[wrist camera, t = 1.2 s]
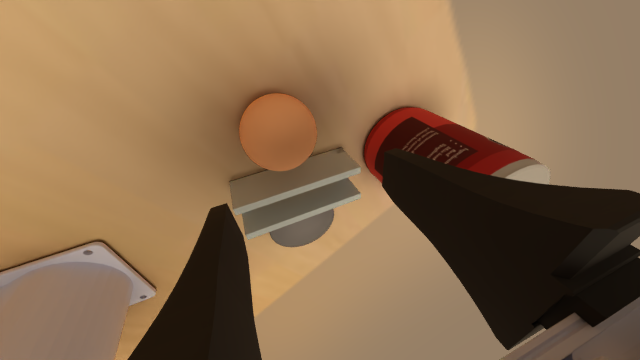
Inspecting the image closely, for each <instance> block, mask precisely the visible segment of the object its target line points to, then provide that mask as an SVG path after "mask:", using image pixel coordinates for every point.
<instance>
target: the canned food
mask: <svg viewBox="0 0 640 360" xmlns="http://www.w3.org/2000/svg"><path fill="white" fill-rule="evenodd" d="M395 148H397V149H401V150H404V151H408V152H411V153H414V154H417V155H420V156H423V157H427V158H430V159H433V160H436V161H439V162H442V163H445V164H449V165H452V166H456V167H459V168H463V169H467V170H470V171H474V172H478V173H482V174H487V175H492V176H497V177H502V178H507V179H513V180H519V181H526V182H533V183H540V184H549V180H550V170H549V168H548V167H547V166H545V165H543V164H541V163H540V162H538V161H537V160H535V159H533V158H531V157H529V156H526V155H524V154H522V153H520V152H518V151H516V150H514V149H512V148H510V147H507V146H505V145H503V144H501V143H498V142H496V141H494V140H492V139H489V138H487V137H485V136H483V135H480V134H478V133H476V132H474V131H472V130H469V129H467V128H465V127H463V126H460V125H458V124H456V123H454V122H451V121H449V120H447V119H445V118H443V117H440V116H438V115H436V114H434V113H431V112H429V111H427V110H425V109H421V108H413V107H409V108H401V109H397V110H395V111H393V112H391V113H389V114H388V115H386V116H385V117H383V118H382V119H381V120H380V121H379V122H378V123H377V124H376V125H375V127H374V128H373V129H372V131H371V132H370V134H369V136H368V138H367V141H366V144H365V149H364V157H365V162H366V164H367V167H368V169H369V170H370V172H371V173H372V174H373V175H374V176H375V177H376V178H377V179H378V180H379V181H380V182H381V183H382V178H383V164H384V152H386V151H389V150H392V149H395Z"/></svg>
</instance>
